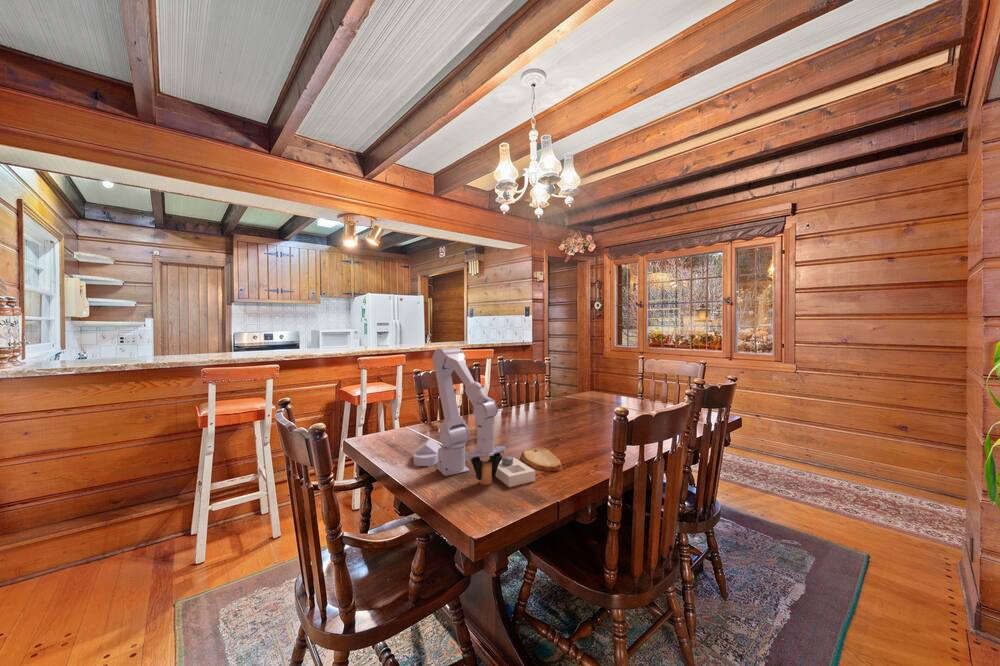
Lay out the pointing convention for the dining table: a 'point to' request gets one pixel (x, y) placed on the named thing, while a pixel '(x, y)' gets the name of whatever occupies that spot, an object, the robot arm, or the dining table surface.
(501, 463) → the cream block with recess
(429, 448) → the wedge on round base
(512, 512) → the dining table surface
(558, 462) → the bread slice
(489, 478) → the orange tapered cylinder
